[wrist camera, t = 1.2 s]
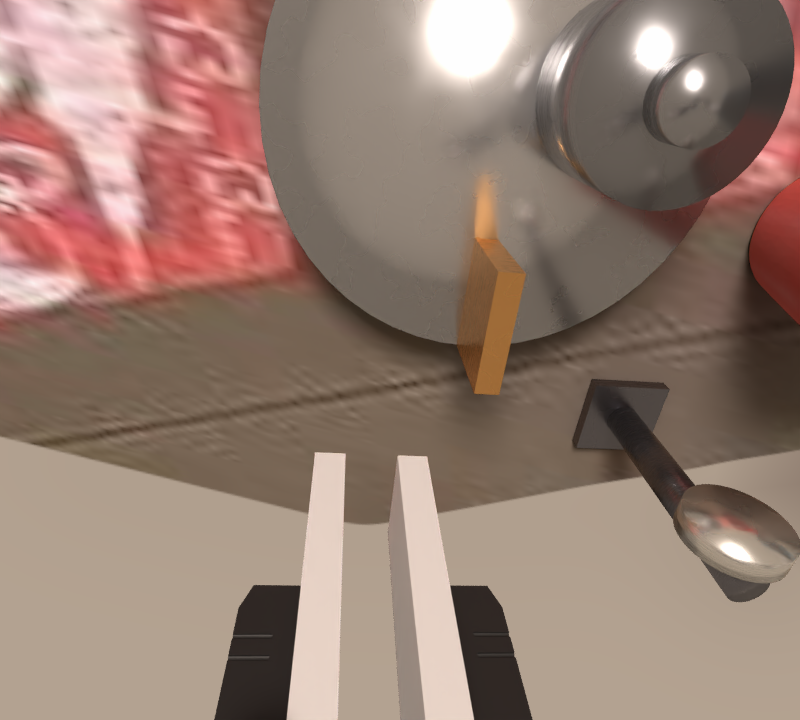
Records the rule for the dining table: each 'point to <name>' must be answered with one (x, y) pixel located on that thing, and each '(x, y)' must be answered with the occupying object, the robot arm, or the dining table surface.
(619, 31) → the cover
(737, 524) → the dial post
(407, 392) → the dining table surface
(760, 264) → the flower pot
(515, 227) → the turntable
